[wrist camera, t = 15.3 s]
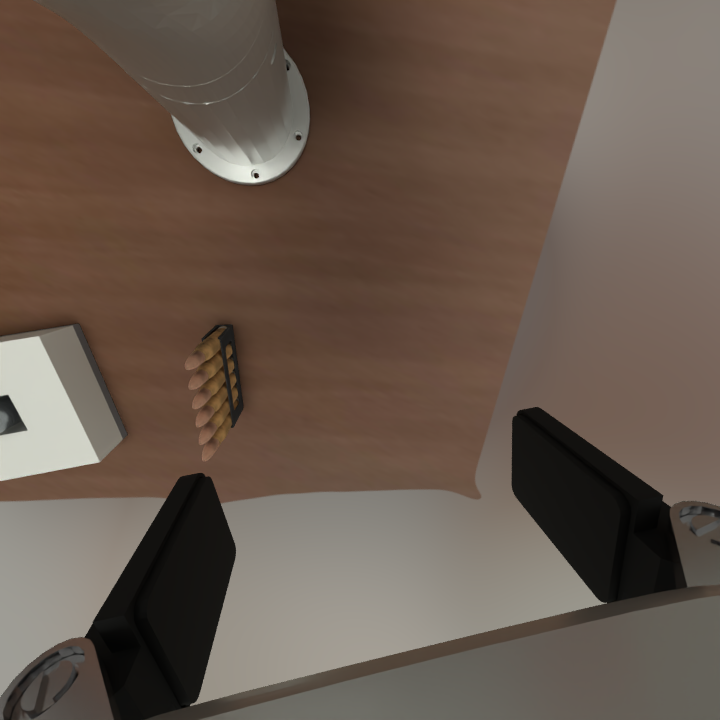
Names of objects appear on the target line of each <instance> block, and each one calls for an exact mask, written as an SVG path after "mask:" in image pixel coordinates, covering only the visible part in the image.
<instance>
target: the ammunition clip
mask: <svg viewBox="0 0 720 720" xmlns="http://www.w3.org/2000/svg"><path fill="white" fill-rule="evenodd" d="M198 366H199V367H198ZM196 367H198V370H197V371H196V372H195V374H194V375H193V376H192V378H191V379H190V382H189V389H190V390H193V389H197V388H199V387H200V386H201V388H200V389H199V391H198V392H197V394H196V395H195V397H194V399H193V403H192V407H193V409H197V408H200V407H201V406H202V408H201V410H200V411H199V413H198V415H197V418H196V427H201V426H203V425H204V426H203V428H202V430H201V433H200V436H199V444H200V445H202V444H204V443H206V444H205V446H204V449H203V453H202V460H203V461H204V462H205V461H207V460H208V459H210V458H211V457H212V456H213V454H214V453H215V452H216V450H217V449H218V447H219V446H220V444H221V442H222V441H223V440H224V439H225V437H226V436H227V434H228V432H229V430H230V428H233V427H234V426H235V424H236V422H237V420H238V418H239V416H240V414H241V412H242V410H243V400H242V393H241V385H240V378H239V370H238V363H237V355H236V348H235V340H234V333H233V325H216V326H215V327H214V328H213V329H212V330H210V331H209V332H208V333H207V334H206V335H205V336H204V337H203V338H202V342H201V343H200V344H199V345H198V346H197V347H196V348H195V351H194V352H193V353H192V354H191V355H190V356H189V357H188V359H187V360H186V363H185V368H186V369H187V370H191V369H194V368H196Z"/></svg>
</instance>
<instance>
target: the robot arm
mask: <svg viewBox="0 0 720 720" xmlns="http://www.w3.org/2000/svg"><path fill="white" fill-rule="evenodd" d="M33 1H35V2H37V3H39V4H40V5H42V6H44V7H46V8H48V9H49V10H51V11H53V12H54V13H56V14H58V15H59V16H61V17H62V18H64V19H65V20H66V21H68V22H69V23H71V24H72V25H73V26H74V27H76V28H77V29H78V30H79V31H81V32H82V33H83V34H84V35H86V36H87V37H88V38H89V39H90V40H91V41H93V42H94V43H95V44H96V45H97V46H98V47H99V48H101V49H102V50H103V51H104V52H105V53H106V54H107V55H108V56H110V57H111V58H112V59H113V60H114V61H115V62H116V63H117V64H118V65H119V66H120V67H121V68H123V69H124V70H125V72H126V73H127V74H128V75H130V76H131V77H132V78H133V79H134V80H135V81H136V82H137V83H138V84H139V85H140V86H141V87H142V88H144V89H145V90H146V91H147V92H148V93H149V94H150V95H151V96H152V97H153V98H154V99H155V100H156V101H158V102H159V103H160V104H161V105H162V106H163V107H164V108H165V109H166V110H167V111H168V112H169V113H170V114H171V117H172V120H173V122H174V125H175V128H176V131H177V133H178V134H179V136H180V138H181V140H182V142H183V143H184V145H185V147H186V148H187V149H188V150H189V152H190V153H191V154H192V156H193V157H194V158H195V159H196V160H197V161H198V162H199V163H201V164H202V165H203V166H204V167H205V168H206V169H208V170H209V171H210V172H212V173H213V174H215V175H217V176H219V177H220V178H222V179H224V180H226V181H229V182H233V183H236V184H241V185H249V186H252V185H262V184H266V183H269V182H272V181H274V180H276V179H278V178H280V177H281V176H283V175H284V174H286V173H287V172H288V171H289V170H290V169H291V168H292V167H293V166H294V165H295V163H296V162H297V161H298V159H299V158H300V156H301V154H302V152H303V150H304V147H305V145H306V141H307V137H308V134H309V124H310V108H309V101H308V95H307V91H306V88H305V85H304V82H303V79H302V76H301V74H300V72H299V70H298V68H297V66H296V64H295V63H294V61H293V60H292V59H291V57H290V56H289V54H288V53H287V52H286V50H285V49H284V48H283V44H282V38H281V31H280V25H279V19H278V13H277V7H276V1H275V0H33ZM286 67H287V68H289V71H287V68H286ZM297 136H300V137H301V140H299V141H298V140H297V139H296V137H297ZM199 148H202V152H201V153H198V149H199ZM256 173H257V174H259V178H257V179H256V178H255V177H254V175H255V174H256ZM512 490H513V492H514V495H515V496H516V498H517V499H518V500H519V502H520V503H521V504H522V505H523V507H524V508H525V509H526V510H527V512H528V513H529V514H530V515H531V517H532V518H533V519H534V520H535V522H536V523H537V524H538V525H539V527H540V528H541V529H542V530H543V531H544V533H545V534H546V535H547V536H548V538H549V539H550V540H551V541H552V543H553V544H554V545H555V546H556V548H557V549H558V550H559V551H560V553H561V554H562V555H563V556H564V558H565V559H566V560H567V561H568V563H569V564H570V565H571V566H572V567H573V569H574V570H575V571H576V572H577V574H578V575H579V576H580V578H581V579H582V580H583V581H584V582H585V584H586V585H587V586H588V587H589V589H590V590H591V591H592V592H593V594H594V595H595V596H596V597H597V598H598V599H599V600H600V601H601V602H604V603H606V602H607V604H602V605H598V606H593V607H589V608H585V609H581V610H576V611H572V612H568V613H564V614H560V615H555V616H552V617H547V618H543V619H539V620H534V621H530V622H526V623H522V624H518V625H514V626H509V627H505V628H501V629H497V630H493V631H488V632H484V633H480V634H476V635H472V636H468V637H463V638H459V639H455V640H451V641H447V642H443V643H439V644H435V645H430V646H427V647H422V648H419V649H414V650H410V651H406V652H402V653H398V654H394V655H390V656H386V657H382V658H378V659H373V660H369V661H366V662H361V663H357V664H353V665H349V666H345V667H341V668H337V669H333V670H329V671H325V672H321V673H317V674H314V675H309V676H305V677H302V678H297V679H293V680H289V681H286V682H281V683H277V684H273V685H269V686H265V687H261V688H257V689H253V690H249V691H245V692H241V693H238V694H234V695H230V696H227V697H223V698H219V699H216V700H212V701H208V702H204V703H201V704H198V705H193V706H190V704H192V703H195V702H196V701H197V699H198V697H199V693H200V690H201V687H202V683H203V679H204V675H205V671H206V667H207V664H208V660H209V656H210V652H211V649H212V645H213V641H214V637H215V633H216V629H217V626H218V622H219V618H220V614H221V610H222V607H223V603H224V599H225V595H226V591H227V588H228V584H229V580H230V576H231V572H232V568H233V565H234V561H235V556H236V547H235V543H234V540H233V537H232V535H231V532H230V529H229V526H228V523H227V520H226V518H225V515H224V512H223V509H222V506H221V504H220V501H219V498H218V495H217V492H216V490H215V487H214V484H213V481H212V479H211V478H210V477H209V476H208V477H205V475H204V474H203V473H197V474H192V475H187V476H182V477H180V478H179V479H178V481H177V482H176V484H175V486H174V487H173V489H172V491H171V492H170V494H169V496H168V497H167V499H166V501H165V502H164V504H163V506H162V507H161V509H160V511H159V513H158V514H157V516H156V517H155V519H154V521H153V523H152V524H151V526H150V527H149V529H148V531H147V532H146V534H145V536H144V537H143V539H142V541H141V542H140V544H139V546H138V547H137V549H136V551H135V553H134V554H133V556H132V558H131V559H130V561H129V563H128V564H127V566H126V567H125V569H124V571H123V573H122V574H121V576H120V578H119V579H118V581H117V583H116V584H115V586H114V588H113V589H112V591H111V592H110V594H109V596H108V598H107V599H106V601H105V602H104V604H103V606H102V607H101V609H100V611H99V612H98V614H97V616H96V617H95V619H94V621H93V624H92V626H91V627H90V629H89V631H88V633H87V634H86V636H85V638H83V637H79V638H72V639H69V640H66V641H64V642H62V643H59V644H57V645H55V646H54V647H52V648H51V649H49V650H47V651H46V652H44V653H42V654H41V655H40V656H39V657H37V658H36V659H35V660H34V661H33V662H31V663H30V664H29V665H28V666H27V667H26V668H25V669H24V670H23V671H22V672H21V673H20V674H19V675H18V676H17V677H16V678H15V679H14V680H13V681H12V682H11V684H10V685H9V686H8V688H7V689H6V690H5V692H4V693H3V694H2V695H1V697H0V720H720V506H716V505H713V504H709V503H705V502H698V501H682V502H679V503H676V504H674V505H673V506H672V507H670V506H669V505H667V504H666V503H664V502H663V501H662V499H663V495H662V494H660V493H659V492H658V491H656V490H655V489H653V488H652V487H651V486H649V485H648V484H646V483H645V482H643V481H642V480H641V479H639V478H638V477H637V476H635V475H634V474H632V473H631V472H630V471H628V470H627V469H625V468H624V467H622V466H621V465H620V464H618V463H617V462H615V461H614V460H612V459H611V458H610V457H608V456H607V455H606V454H604V453H603V452H601V451H600V450H598V449H597V448H596V447H594V446H593V445H592V444H590V443H589V442H587V441H586V440H584V439H583V438H582V437H580V436H579V435H577V434H576V433H575V432H573V431H572V430H570V429H569V428H568V427H566V426H565V425H563V424H562V423H561V422H559V421H558V420H556V419H555V418H553V417H552V416H550V415H549V414H548V413H546V412H545V411H544V410H542V409H541V408H539V407H534V408H529V409H524V410H520V411H518V413H517V416H514V417H513V421H512Z"/></svg>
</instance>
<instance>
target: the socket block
mask: <svg viewBox="0 0 720 720" xmlns="http://www.w3.org/2000/svg"><path fill="white" fill-rule="evenodd" d="M4 395H9V397H10V399H11V401H12V402H13V404H14V406H15V408H16V410H17V411H18V413H19V415H20V417H21V419H22V421H21V422H19V423H17V424H15V425H14V426H12V427H10V428H8V429H7V430H5V431H3V432H2V433H0V481H3V480H8V479H13V478H19V477H24V476H29V475H34V474H40V473H45V472H50V471H56V470H61V469H66V468H71V467H77V466H82V465H87V464H92V463H98V462H100V461H101V460H102V459H103V458H104V457H106V456H107V455H108V454H109V453H110V452H111V451H112V450H113V449H114V448H115V447H116V446H117V445H118V444H119V443H120V442H121V441H122V440H123V439H124V438H125V437H126V436H127V432H126V430H125V428H124V425H123V423H122V421H121V419H120V416H119V414H118V412H117V409H116V407H115V405H114V403H113V400H112V398H111V396H110V393H109V391H108V389H107V387H106V384H105V382H104V380H103V377H102V375H101V373H100V371H99V368H98V366H97V364H96V361H95V359H94V357H93V354H92V352H91V350H90V348H89V345H88V343H87V341H86V338H85V336H84V334H83V332H82V329H81V327H80V325H79V324H73V325H67V326H60V327H54V328H48V329H42V330H35V331H29V332H23V333H17V334H10V335H4V336H0V397H1V396H4Z"/></svg>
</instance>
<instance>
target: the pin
mask: <svg viewBox="0 0 720 720" xmlns="http://www.w3.org/2000/svg"><path fill="white" fill-rule="evenodd" d="M21 421H22V419H21V417H20V415H19V413H18V411H17V410H16V408H15V406H14V404H13V402H12V401H11V399H10V397H9V395H4V396H1V397H0V433H2V432H3V431H5V430H7V429H8V428H10V427H12V426H14V425H15V424H17V423H19V422H21Z"/></svg>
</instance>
